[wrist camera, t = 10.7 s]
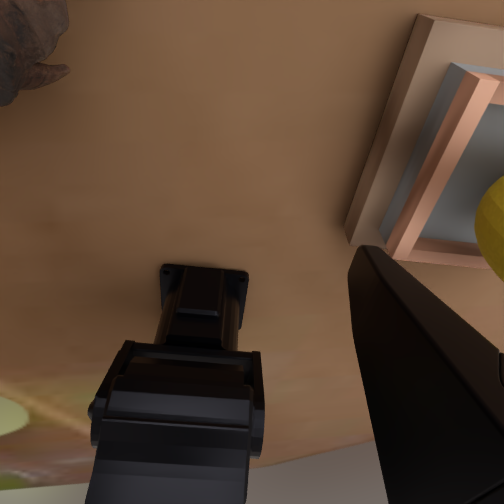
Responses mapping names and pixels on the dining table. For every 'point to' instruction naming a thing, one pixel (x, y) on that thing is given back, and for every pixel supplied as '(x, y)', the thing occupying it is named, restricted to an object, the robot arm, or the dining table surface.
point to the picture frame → (435, 146)
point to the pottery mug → (29, 44)
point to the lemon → (492, 227)
